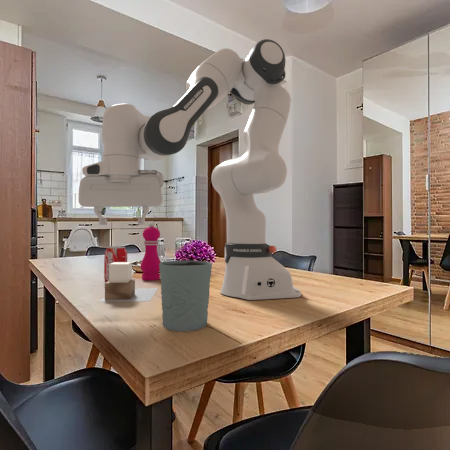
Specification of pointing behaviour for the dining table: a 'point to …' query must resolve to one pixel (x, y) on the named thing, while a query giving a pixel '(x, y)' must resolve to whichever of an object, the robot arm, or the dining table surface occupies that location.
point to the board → (137, 295)
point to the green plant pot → (185, 294)
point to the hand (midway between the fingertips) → (122, 224)
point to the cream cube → (120, 272)
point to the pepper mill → (151, 254)
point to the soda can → (113, 258)
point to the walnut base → (119, 290)
